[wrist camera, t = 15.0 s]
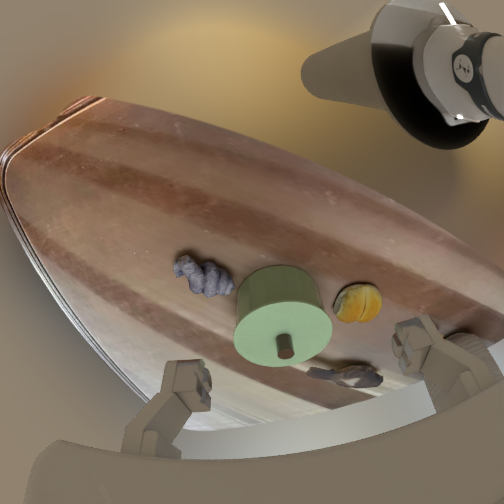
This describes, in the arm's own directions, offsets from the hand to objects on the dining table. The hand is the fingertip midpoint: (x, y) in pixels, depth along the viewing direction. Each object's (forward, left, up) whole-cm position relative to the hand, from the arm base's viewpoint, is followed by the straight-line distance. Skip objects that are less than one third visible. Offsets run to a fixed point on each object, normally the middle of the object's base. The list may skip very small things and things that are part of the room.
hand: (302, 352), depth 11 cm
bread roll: (-13, +27, -29) cm, 42 cm away
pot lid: (+1, +23, -21) cm, 31 cm away
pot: (+1, +23, -29) cm, 37 cm away
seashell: (+11, +15, -29) cm, 34 cm away
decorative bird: (-12, +48, -29) cm, 57 cm away
